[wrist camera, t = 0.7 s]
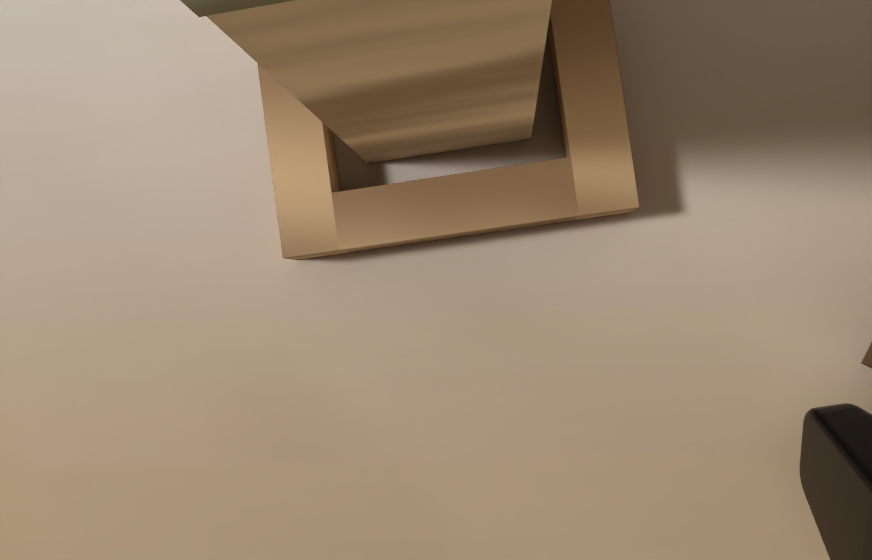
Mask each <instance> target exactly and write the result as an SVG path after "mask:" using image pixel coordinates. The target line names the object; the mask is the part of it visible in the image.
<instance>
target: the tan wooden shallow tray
mask: <svg viewBox="0 0 872 560" xmlns="http://www.w3.org/2000/svg"><path fill="white" fill-rule="evenodd" d="M862 364H864V365H866V366H868V367H870V368H872V343H871V345H870V347H869V349H868V351H867V353H866V355H865V357H864V359H863V361H862Z"/></svg>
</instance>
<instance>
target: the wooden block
mask: <svg viewBox="0 0 872 560" xmlns="http://www.w3.org/2000/svg"><path fill="white" fill-rule="evenodd" d="M181 1H182V2H183V3H184V4H185V5H186V6H187V7H188V8H190V9H191V10H192V11H193V12H194V13H195V14H196V15H197V16H199V17H202V16H207V17H208V18H209V19H210V20H211V21H212V22H213V23H214V24H216V25H217V26H218V27H219V28H220V29H221V30H222V31H223V32H224V33H225V34H227V35H228V36H229V37H230V38H231V39H232V40H233V41H234V42H235V43H236V44H237V45H239V46H240V47H241V48H242V49H243V50H244V51H245V52H246V53H247V54H248V55H249V56H251V57H252V58H253V59H254V60H255V61H256V62H257V63H258V64H259V65H260V66H262V67H263V68H264V69H265V70H266V71H267V72H268V73H269V74H270V75H271V76H272V77H274V78H275V79H276V80H277V81H278V82H279V83H280V84H281V85H282V86H283V87H285V88H286V89H287V90H288V91H289V92H290V93H291V94H292V95H293V96H294V97H295V98H297V99H298V100H299V101H300V102H301V103H302V104H303V105H304V106H305V107H306V108H308V109H309V110H310V111H311V112H312V113H313V114H314V115H315V116H316V117H317V118H318V119H320V120H321V121H322V122H323V123H324V124H325V125H326V126H327V127H328V128H329V129H330V130H332V131H333V132H334V133H335V134H336V135H337V136H338V137H339V138H340V139H341V140H343V141H344V142H345V143H346V144H347V145H348V146H349V147H350V148H351V149H352V150H353V151H355V152H356V153H357V154H358V155H359V156H360V157H361V158H362V159H363V160H364V161H366V162H367V163H374V162H380V161H387V160H393V159H400V158H406V157H413V156H419V155H426V154H433V153H439V152H446V151H452V150H459V149H465V148H472V147H478V146H485V145H491V144H498V143H505V142H511V141H518V140H524V139H531V136H532V129H533V123H534V116H535V109H536V103H537V96H538V90H539V83H540V76H541V70H542V63H543V57H544V50H545V43H546V37H547V30H548V24H549V17H550V11H551V4H552V0H181Z"/></svg>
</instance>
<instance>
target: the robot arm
mask: <svg viewBox="0 0 872 560" xmlns="http://www.w3.org/2000/svg"><path fill="white" fill-rule="evenodd" d="M800 478H801V483H802V487H803V490H804V493H805V496H806V499H807V501H808V504H809V506H810V509H811V511H812V514H813V516H814V519H815V522H816V524H817V527H818V529H819V532H820V534H821V537H822V540H823V542H824V545H825V547H826V550H827V552H828V555H829V557H830V560H872V415H871V414H870V413H868V412H866V411H865V410H863V409H861V408H860V407H858V406H855V405H852V404H838V405H831V406H824V407H817V408H812V409H810V410H809V411H808V412H807V413H806V415H805V417H804V422H803V433H802V445H801V457H800Z"/></svg>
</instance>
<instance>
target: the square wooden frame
mask: <svg viewBox="0 0 872 560" xmlns="http://www.w3.org/2000/svg"><path fill="white" fill-rule="evenodd" d="M548 32H549V39H550V46H551V54H552V61H553V68H554V75H555V82H556V89H557V96H558V103H559V110H560V118H561V125H562V132H563V139H564V146H565V153H566V158H560V159H553V160H547V161H540V162H533V163H527V164H520V165H513V166H507V167H500V168H493V169H487V170H480V171H473V172H467V173H460V174H453V175H447V176H440V177H433V178H427V179H420V180H413V181H407V182H400V183H393V184H387V185H380V186H373V187H367V188H360V189H353V190H347V191H340V185H339V177H338V170H337V162H336V155H335V147H334V139H333V132H332V130H330V129H329V128H328V127H327V126H326V125H325V124H324V123H323V122H322V121H321V120H320V119H318V118H317V117H316V116H315V115H314V114H313V113H312V112H311V111H310V110H309V109H308V108H306V107H305V106H304V105H303V104H302V103H301V102H300V101H299V100H298V99H297V98H295V97H294V96H293V95H292V94H291V93H290V92H289V91H288V90H287V89H286V88H285V87H283V86H282V85H281V84H280V83H279V82H278V81H277V80H276V79H275V78H274V77H272V76H271V75H270V74H269V73H268V72H267V71H266V70H265V69H264V68H263V67H262V66H260V65H259V64H258V71H259V79H260V86H261V94H262V102H263V109H264V117H265V125H266V133H267V140H268V148H269V156H270V163H271V171H272V179H273V186H274V194H275V202H276V210H277V217H278V225H279V233H280V240H281V248H282V256H283V258H286V259H293V260H298V259H305V258H312V257H319V256H326V255H333V254H340V253H347V252H355V251H362V250H369V249H376V248H383V247H390V246H397V245H404V244H411V243H418V242H425V241H432V240H439V239H446V238H453V237H460V236H467V235H474V234H481V233H488V232H495V231H502V230H509V229H516V228H523V227H530V226H537V225H544V224H551V223H558V222H565V221H572V220H579V219H586V218H593V217H600V216H607V215H614V214H621V213H628V212H632V211H634V210H635V209H637V208H639V202H638V195H637V188H636V181H635V174H634V167H633V160H632V153H631V146H630V139H629V132H628V125H627V118H626V111H625V104H624V97H623V90H622V83H621V76H620V69H619V62H618V55H617V48H616V41H615V34H614V27H613V20H612V13H611V6H610V0H552V4H551V11H550V17H549V24H548Z"/></svg>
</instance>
